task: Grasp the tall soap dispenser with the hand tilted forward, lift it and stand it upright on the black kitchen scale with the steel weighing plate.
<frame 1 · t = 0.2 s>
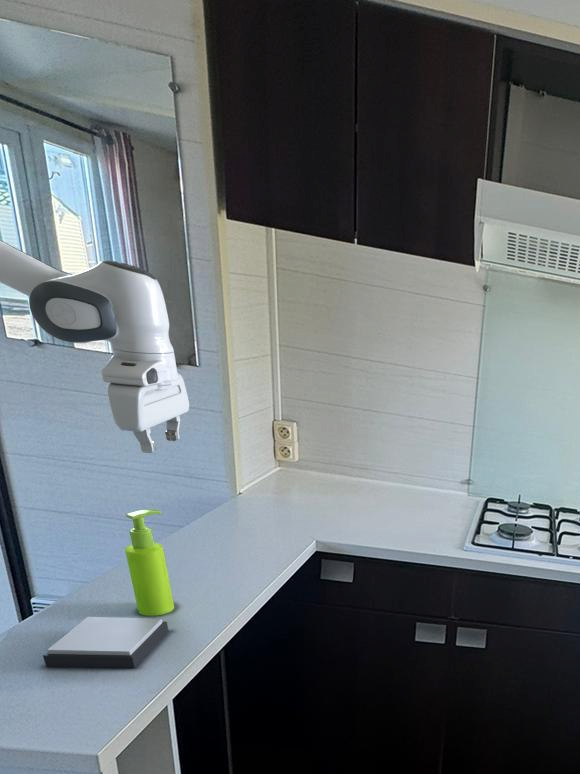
hand: (161, 445, 116), 31 cm above the table, tool pointing down, fingers open, 8 cm apart
kitchen scale: (111, 648, 110), on the table
soap dispenser: (159, 609, 124), on the table
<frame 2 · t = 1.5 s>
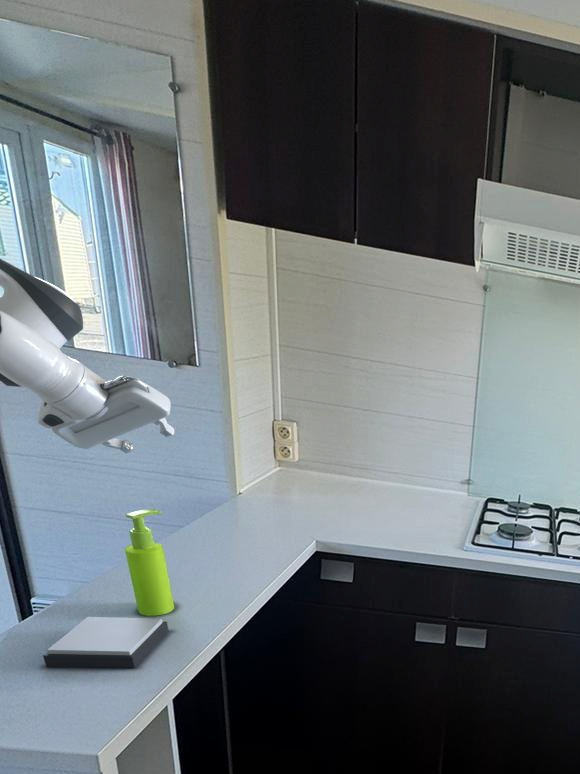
hand: (151, 441, 122), 30 cm above the table, tool tilted 45°, fingers open, 8 cm apart
nothing on the table moved.
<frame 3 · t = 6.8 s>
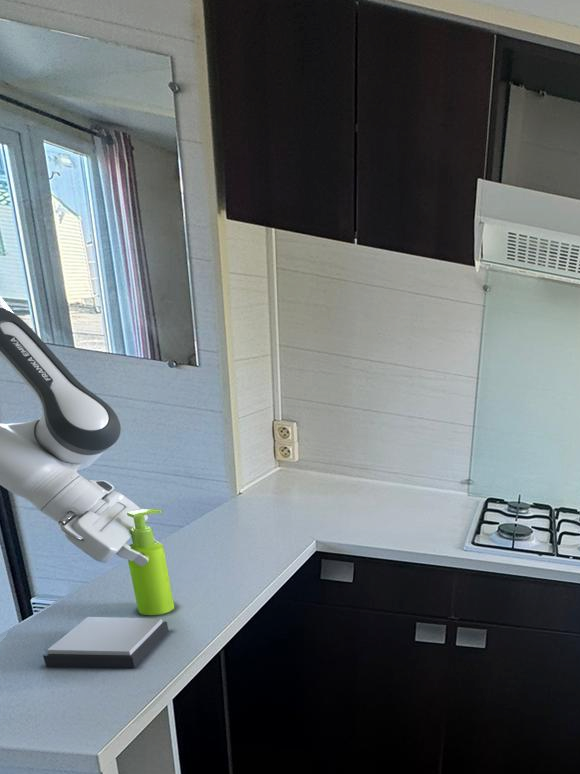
hand: (152, 555, 120), 11 cm above the table, tool tilted 45°, fingers closed on soap dispenser, 6 cm apart
soap dispenser: (159, 609, 124), on the table, touching gripper
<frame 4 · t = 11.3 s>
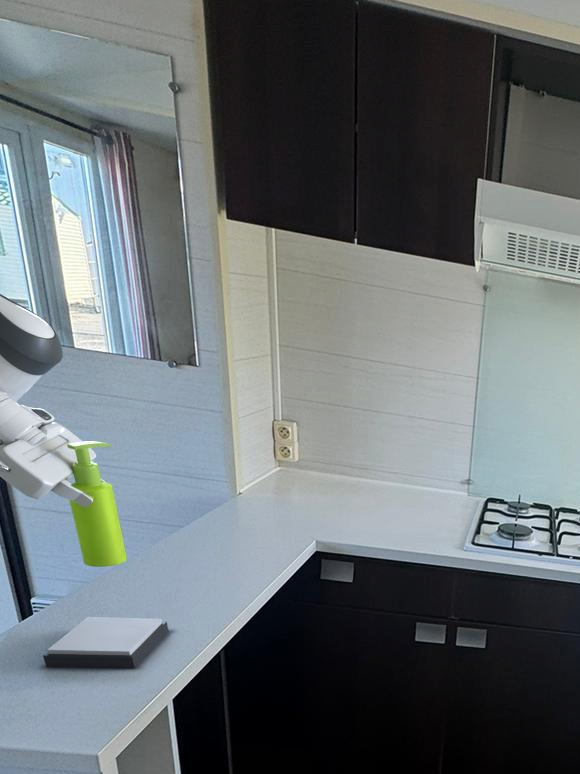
hand: (99, 496, 103), 26 cm above the table, tool tilted 45°, fingers closed on soap dispenser, 6 cm apart
soap dispenser: (109, 560, 108), point 15 cm above the table, touching gripper
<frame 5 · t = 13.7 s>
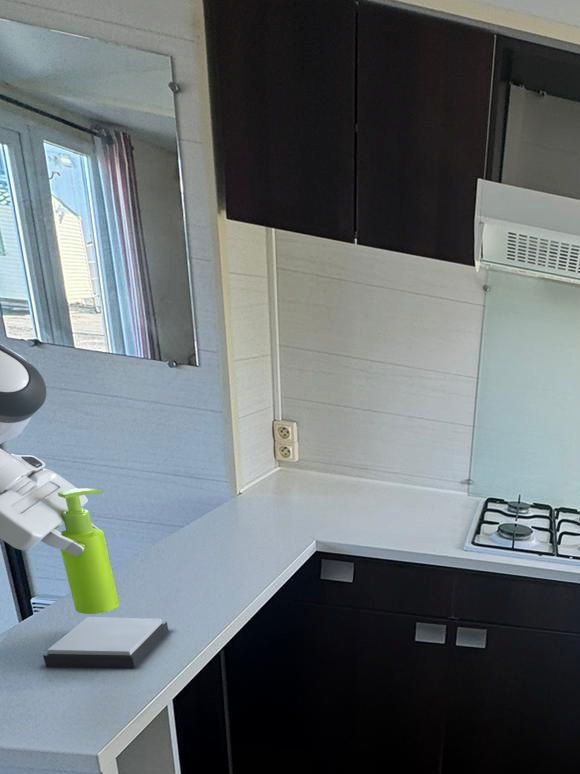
hand: (90, 543, 102), 20 cm above the table, tool tilted 45°, fingers closed on soap dispenser, 6 cm apart
soap dispenser: (101, 606, 106), point 8 cm above the table, touching gripper
when the fingers open (14 cm above the table, at t = 15.8 s): soap dispenser stays where it is, resting on kitchen scale.
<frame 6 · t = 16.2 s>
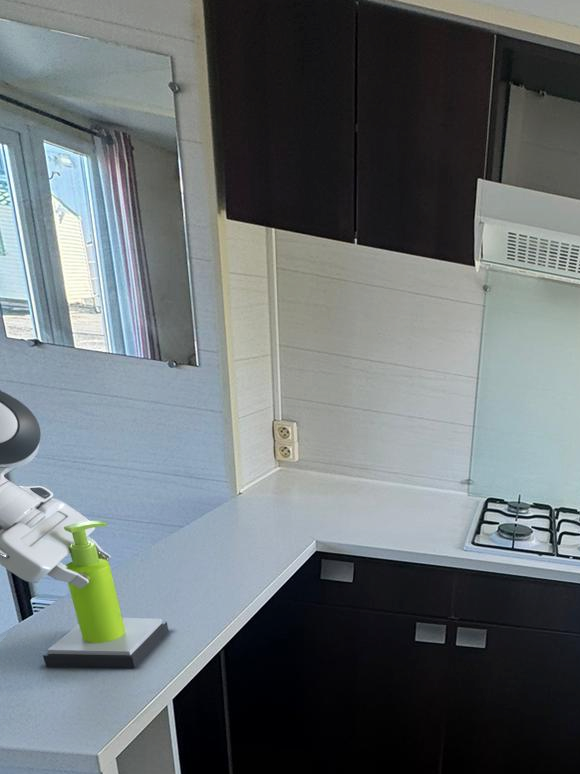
hand: (97, 572, 104), 15 cm above the table, tool tilted 45°, fingers open, 8 cm apart
soap dispenser: (107, 634, 109), point 3 cm above the table, touching kitchen scale
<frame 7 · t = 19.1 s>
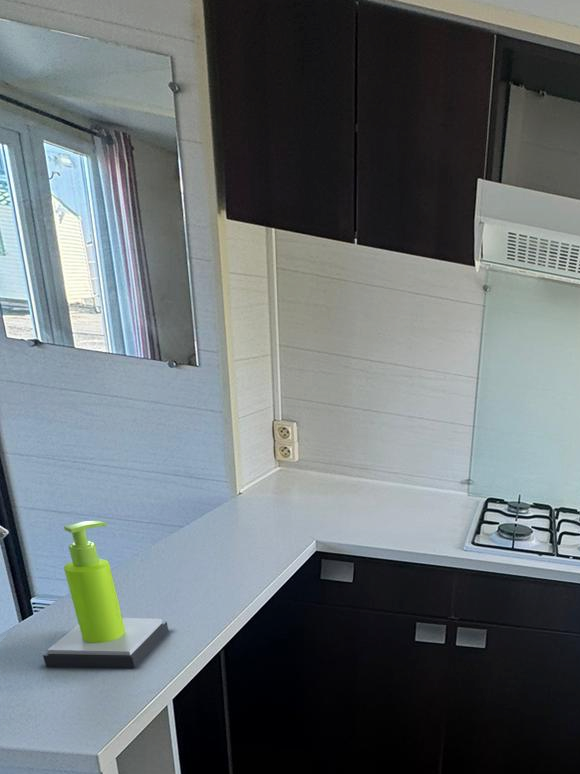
nothing on the table moved.
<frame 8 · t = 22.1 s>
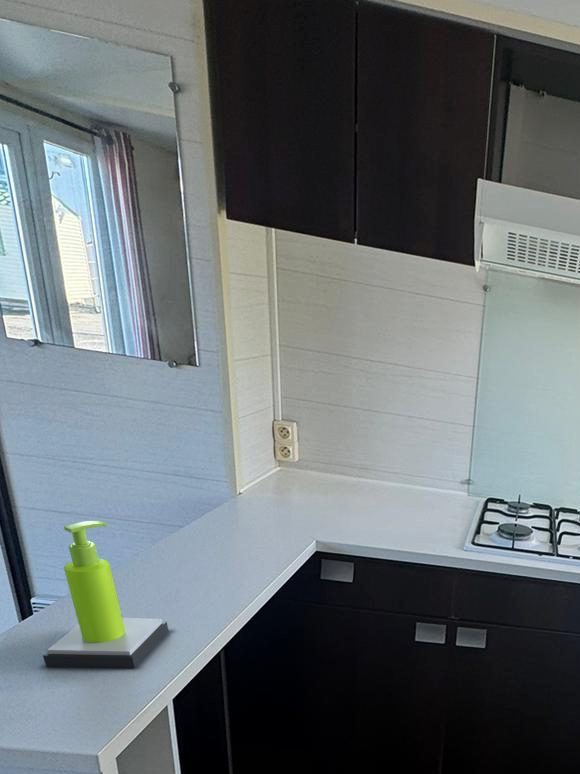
nothing on the table moved.
at the end: soap dispenser inside the target area on the kitchen scale (0.1 cm from its centre), point 2.8 cm above the kitchen scale's base; soap dispenser tilted 0°; the gripper is holding nothing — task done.
